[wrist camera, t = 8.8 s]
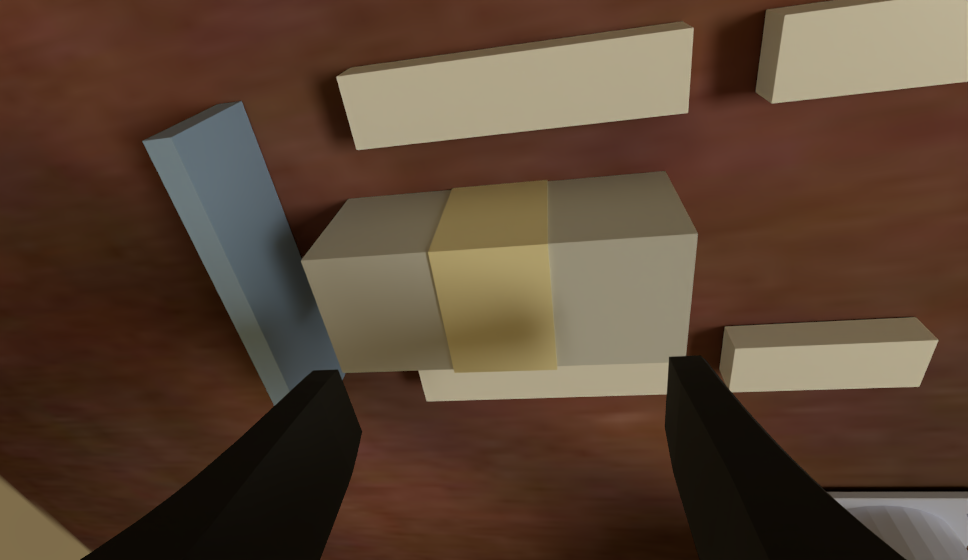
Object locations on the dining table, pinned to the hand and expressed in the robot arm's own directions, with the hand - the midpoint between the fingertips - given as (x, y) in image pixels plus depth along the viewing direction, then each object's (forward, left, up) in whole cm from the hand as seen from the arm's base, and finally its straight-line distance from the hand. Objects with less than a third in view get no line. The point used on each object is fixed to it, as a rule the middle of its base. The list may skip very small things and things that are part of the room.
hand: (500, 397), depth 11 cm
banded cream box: (0, 0, -7) cm, 7 cm away
